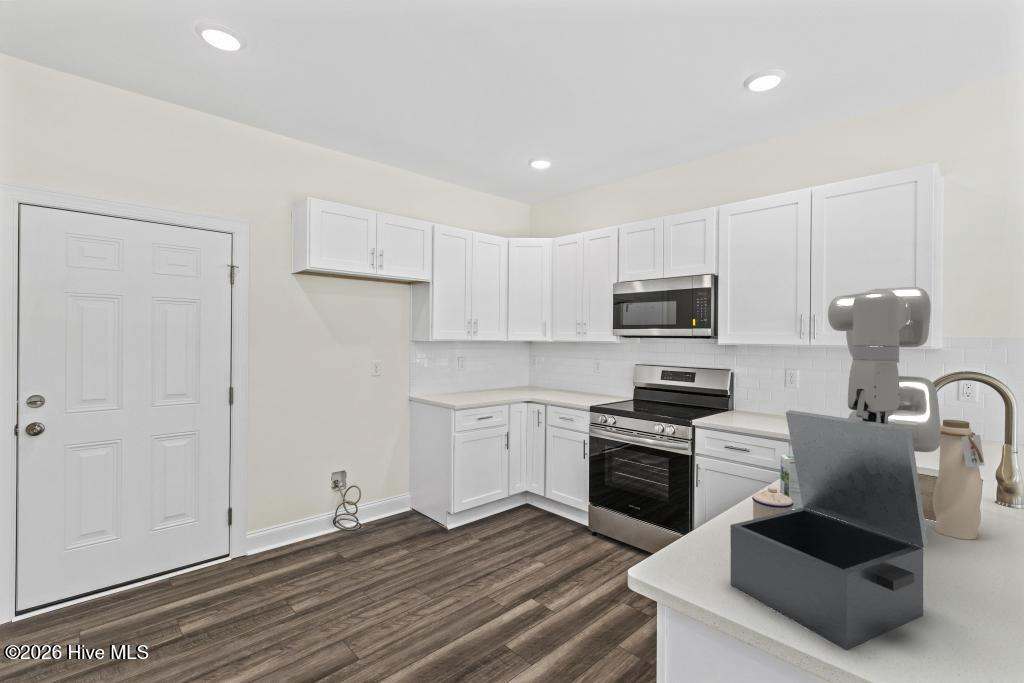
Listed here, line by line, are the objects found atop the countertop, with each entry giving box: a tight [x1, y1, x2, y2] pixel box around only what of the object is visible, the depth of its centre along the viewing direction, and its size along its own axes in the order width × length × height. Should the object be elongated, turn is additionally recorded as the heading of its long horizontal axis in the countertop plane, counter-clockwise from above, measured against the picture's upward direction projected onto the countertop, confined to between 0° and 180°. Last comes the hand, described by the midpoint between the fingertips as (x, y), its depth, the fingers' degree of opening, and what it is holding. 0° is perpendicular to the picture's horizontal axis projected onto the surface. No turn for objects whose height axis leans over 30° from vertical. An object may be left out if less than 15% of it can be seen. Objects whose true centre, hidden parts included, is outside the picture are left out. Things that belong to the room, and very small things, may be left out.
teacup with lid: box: [751, 486, 794, 520], centre depth 120 cm, size 12×9×12 cm
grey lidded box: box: [729, 508, 924, 651], centre depth 90 cm, size 22×27×12 cm
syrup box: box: [779, 454, 806, 509], centre depth 138 cm, size 6×6×14 cm
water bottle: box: [932, 419, 985, 540], centre depth 119 cm, size 10×9×28 cm
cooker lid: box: [785, 409, 929, 549], centre depth 94 cm, size 22×22×4 cm
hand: (875, 445), depth 97 cm, fingers closed
